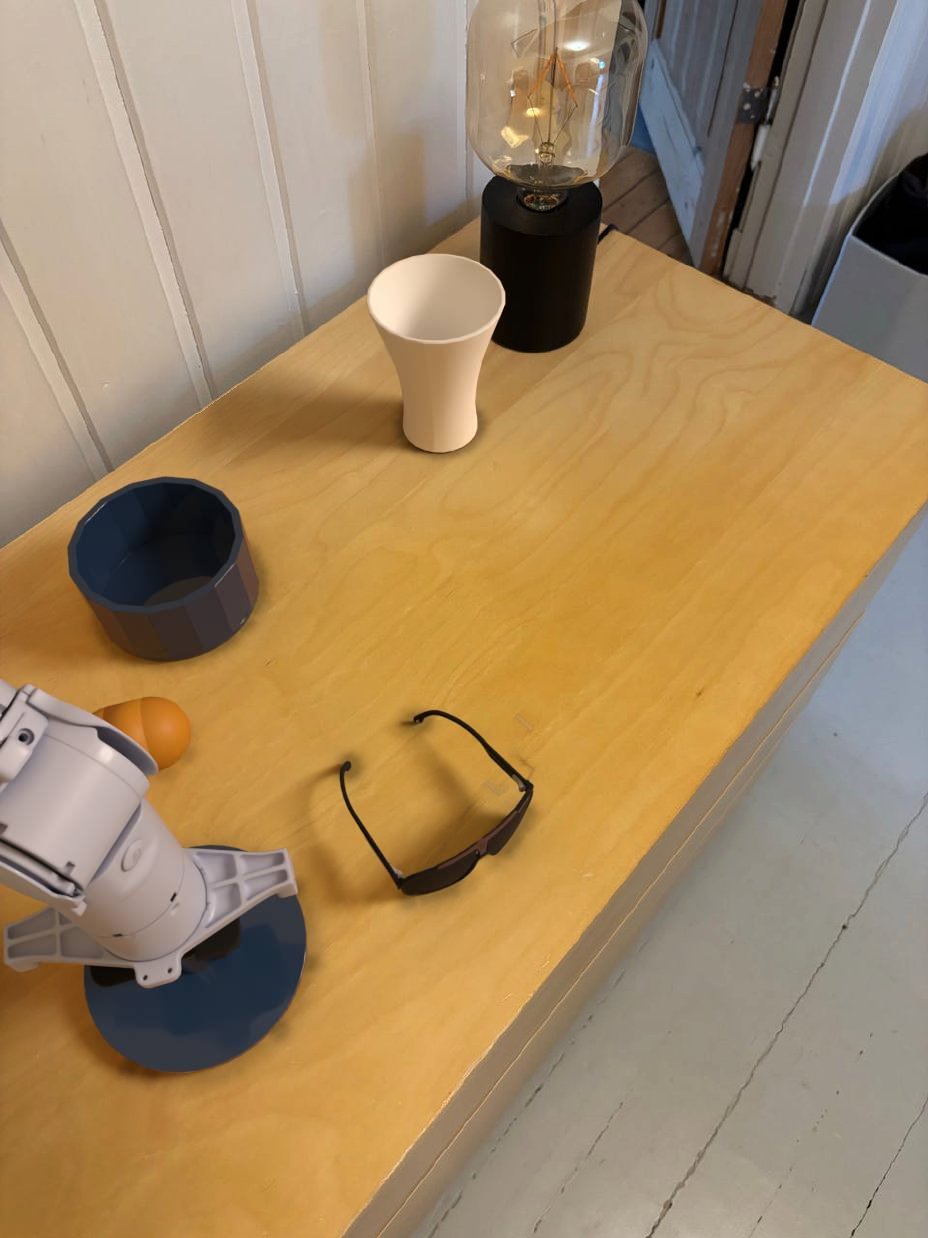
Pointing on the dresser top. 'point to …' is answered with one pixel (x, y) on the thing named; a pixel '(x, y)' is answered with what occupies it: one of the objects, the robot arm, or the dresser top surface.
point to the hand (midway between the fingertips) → (193, 949)
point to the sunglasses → (468, 858)
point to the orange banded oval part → (152, 727)
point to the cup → (437, 341)
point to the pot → (165, 568)
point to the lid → (209, 996)
